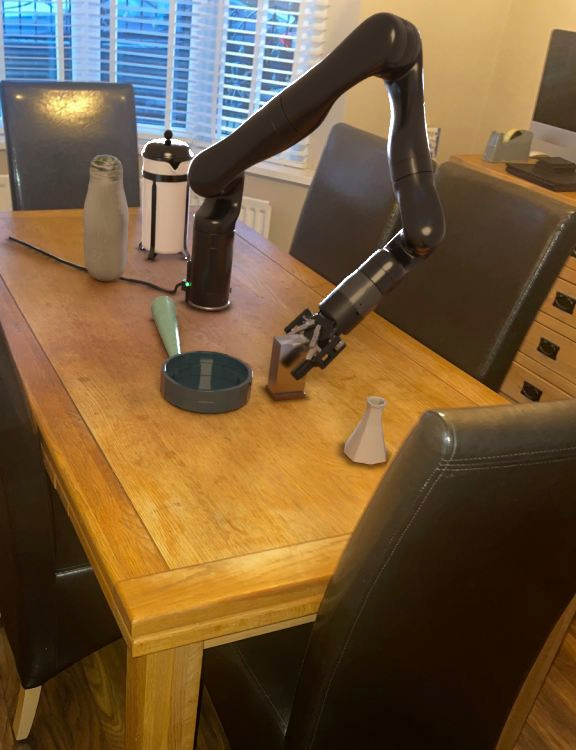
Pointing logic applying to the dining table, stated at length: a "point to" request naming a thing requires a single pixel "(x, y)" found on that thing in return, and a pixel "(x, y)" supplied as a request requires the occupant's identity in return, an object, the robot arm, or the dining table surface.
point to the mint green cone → (167, 323)
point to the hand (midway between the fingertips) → (284, 366)
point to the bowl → (206, 381)
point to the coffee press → (165, 196)
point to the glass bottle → (105, 220)
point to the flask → (368, 435)
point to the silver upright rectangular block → (287, 366)
